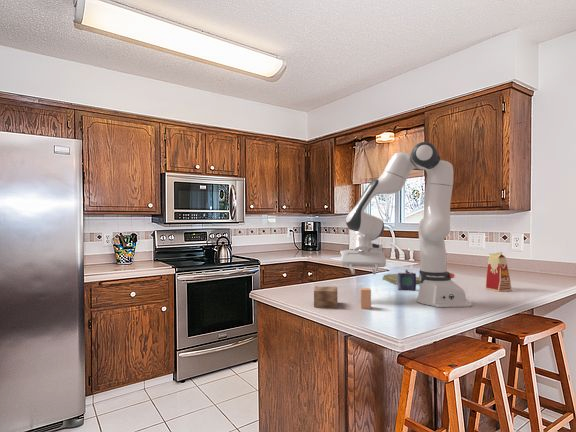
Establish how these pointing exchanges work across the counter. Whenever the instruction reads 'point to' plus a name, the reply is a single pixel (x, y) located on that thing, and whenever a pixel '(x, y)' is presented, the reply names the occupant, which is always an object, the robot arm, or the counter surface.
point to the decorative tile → (395, 278)
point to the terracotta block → (365, 298)
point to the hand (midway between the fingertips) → (363, 273)
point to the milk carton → (498, 273)
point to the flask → (407, 281)
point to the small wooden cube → (325, 297)
